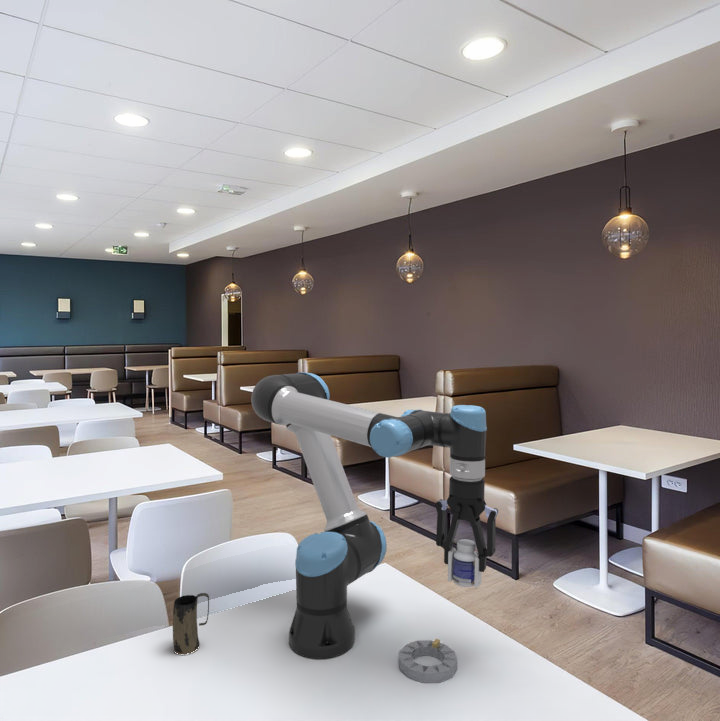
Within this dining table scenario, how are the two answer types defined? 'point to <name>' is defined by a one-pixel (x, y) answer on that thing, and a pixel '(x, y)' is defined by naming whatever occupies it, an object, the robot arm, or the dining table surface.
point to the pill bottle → (464, 563)
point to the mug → (186, 623)
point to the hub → (428, 672)
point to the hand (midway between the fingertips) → (464, 581)
